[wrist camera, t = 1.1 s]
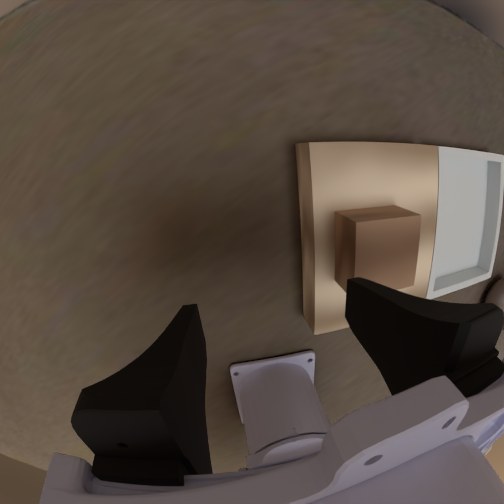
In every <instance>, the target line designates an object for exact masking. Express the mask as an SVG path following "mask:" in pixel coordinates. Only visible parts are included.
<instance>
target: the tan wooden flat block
mask: <svg viewBox="0 0 504 504" xmlns="http://www.w3.org/2000/svg"><path fill="white" fill-rule="evenodd" d="M295 149H296V161H297V174H298V188H299V204H300V222H301V244H302V272H303V315H304V317H305V319H306V321H307V323H308V324H309V326H310V328H311V330H312V332H313V334H314V335H317V334H322V333H326V332H331V331H335V330H339V329H343V328H347V327H350V326H349V324H348V322H347V320H346V318H345V306H346V292H345V291H344V290H343V289H342V288H341V287H340V286H339V285H338V284H337V282H336V281H335V211H341V210H351V209H361V208H371V207H382V206H393V205H396V206H399V207H402V208H404V209H407V210H410V211H412V212H415V213H418V214H420V215H421V229H420V241H419V251H418V259H417V267H416V274H415V281H414V286H410V287H406V288H403V289H399V290H398V291H401V292H404V293H407V294H410V295H413V296H417V297H421V298H426V293H427V288H428V282H429V276H430V270H431V263H432V256H433V248H434V239H435V229H436V217H437V200H438V146H433V145H421V144H407V143H388V142H309V143H296V144H295Z"/></svg>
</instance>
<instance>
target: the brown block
mask: <svg viewBox="0 0 504 504" xmlns="http://www.w3.org/2000/svg"><path fill="white" fill-rule="evenodd" d="M420 229H421V215H420V214H418V213H415V212H412V211H410V210H407V209H404V208H402V207H399V206H396V205H393V206H382V207H371V208H361V209H351V210H341V211H335V281H336V282H337V284H338V285H339V286H340V287H341V288H342V289H343V290H344V291H345V292H346V290H347V279H351V278H356V277H361V278H365V279H368V280H371V281H374V282H376V283H379V284H382V285H384V286H387V287H390V288H392V289H395V290H399V289H403V288H406V287H410V286H414V281H415V274H416V267H417V259H418V251H419V241H420Z"/></svg>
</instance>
